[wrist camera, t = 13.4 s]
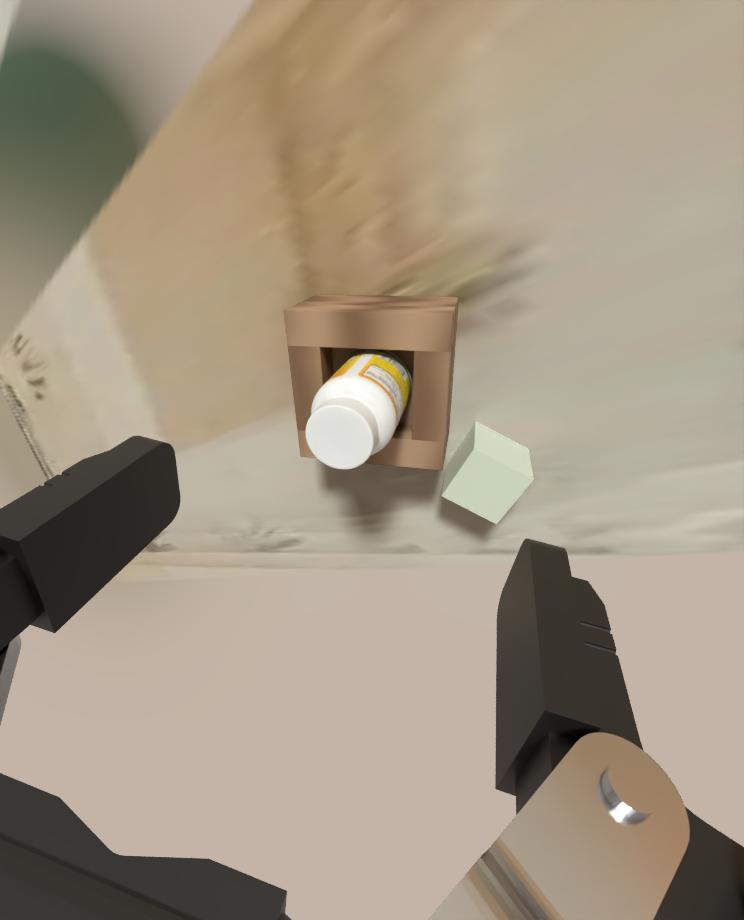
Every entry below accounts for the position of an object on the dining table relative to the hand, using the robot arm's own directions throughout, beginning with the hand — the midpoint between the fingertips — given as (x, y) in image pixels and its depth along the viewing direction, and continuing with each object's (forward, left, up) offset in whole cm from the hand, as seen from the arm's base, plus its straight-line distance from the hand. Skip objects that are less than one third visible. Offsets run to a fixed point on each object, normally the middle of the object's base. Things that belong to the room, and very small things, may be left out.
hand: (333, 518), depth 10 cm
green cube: (-7, +12, -27) cm, 30 cm away
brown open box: (+3, +6, -27) cm, 28 cm away
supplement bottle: (+3, +6, -23) cm, 24 cm away
